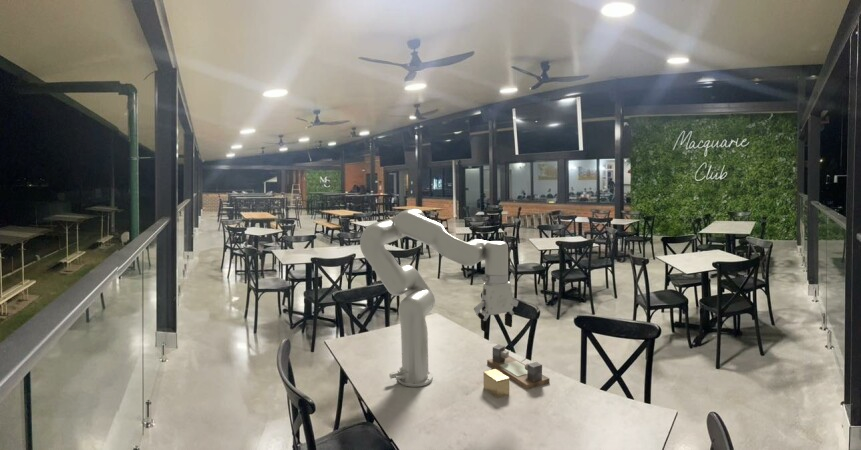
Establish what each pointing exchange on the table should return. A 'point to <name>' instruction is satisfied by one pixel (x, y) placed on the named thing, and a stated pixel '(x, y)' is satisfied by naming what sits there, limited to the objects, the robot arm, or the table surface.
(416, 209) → the robot arm
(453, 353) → the table surface
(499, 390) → the gold rectangular block
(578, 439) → the table surface
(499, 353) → the shaft rig
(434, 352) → the table surface
